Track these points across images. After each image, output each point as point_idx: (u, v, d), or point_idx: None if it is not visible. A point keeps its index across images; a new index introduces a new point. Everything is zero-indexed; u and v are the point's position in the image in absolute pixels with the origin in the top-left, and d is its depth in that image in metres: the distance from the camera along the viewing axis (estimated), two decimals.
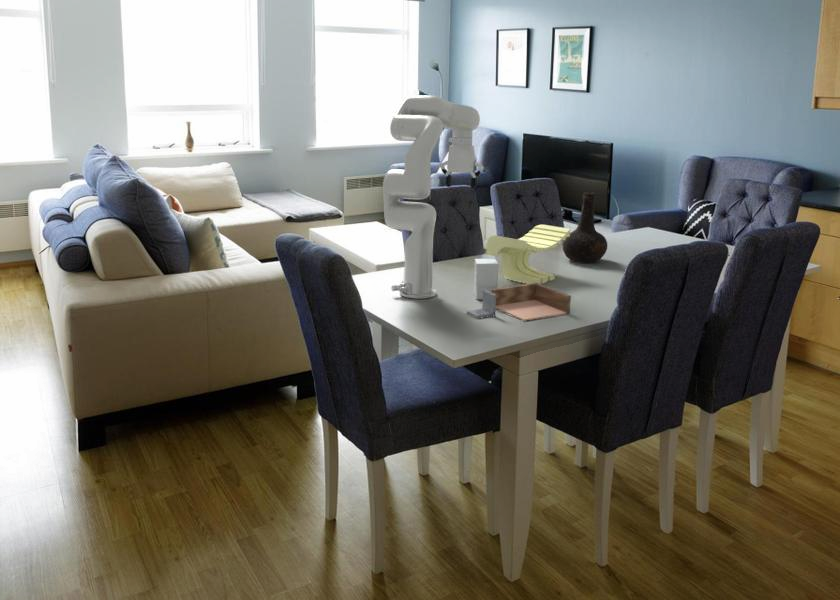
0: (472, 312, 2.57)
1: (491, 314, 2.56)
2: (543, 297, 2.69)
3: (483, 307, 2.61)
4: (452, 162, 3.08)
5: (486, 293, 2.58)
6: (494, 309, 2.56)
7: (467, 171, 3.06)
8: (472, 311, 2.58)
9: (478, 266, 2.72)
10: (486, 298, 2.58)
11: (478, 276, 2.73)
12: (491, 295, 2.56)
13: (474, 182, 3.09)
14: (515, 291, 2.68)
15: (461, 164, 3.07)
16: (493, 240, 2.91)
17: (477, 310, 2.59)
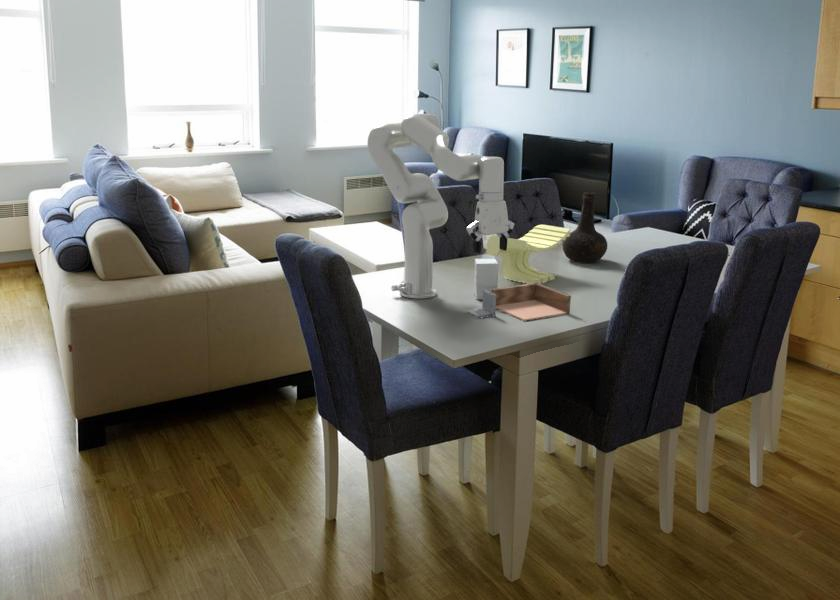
0: (472, 312, 2.57)
1: (491, 314, 2.56)
2: (543, 297, 2.69)
3: (483, 307, 2.61)
4: (488, 223, 2.51)
5: (486, 293, 2.58)
6: (494, 309, 2.56)
7: (504, 230, 2.55)
8: (472, 311, 2.58)
9: (478, 266, 2.72)
10: (486, 298, 2.58)
11: (478, 276, 2.73)
12: (491, 295, 2.56)
13: None
14: (515, 291, 2.68)
15: (497, 224, 2.53)
16: (493, 240, 2.91)
17: (477, 310, 2.59)
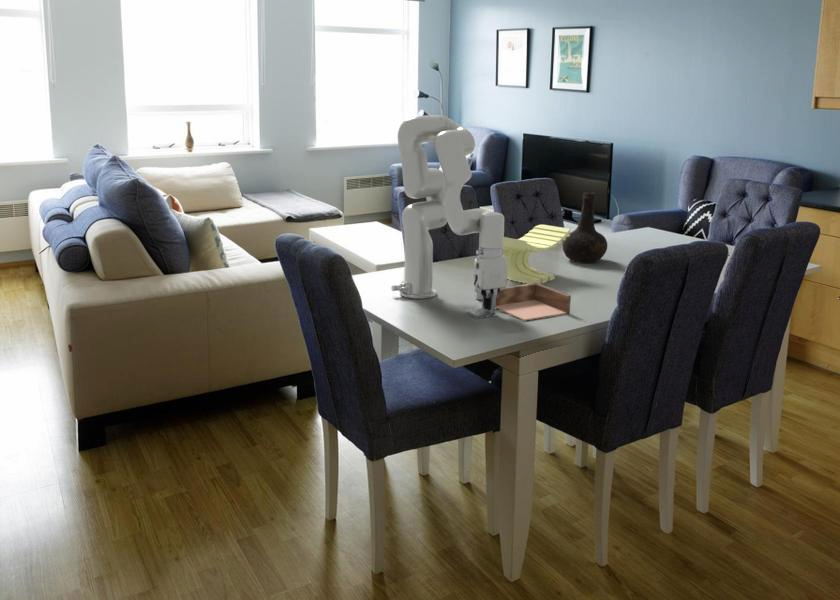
0: (472, 312, 2.57)
1: (491, 314, 2.56)
2: (543, 297, 2.69)
3: (483, 307, 2.61)
4: (487, 278, 2.52)
5: None
6: (494, 309, 2.56)
7: (503, 285, 2.56)
8: (472, 311, 2.58)
9: None
10: None
11: None
12: (491, 295, 2.56)
13: None
14: (515, 291, 2.68)
15: (497, 279, 2.54)
16: None
17: (477, 310, 2.59)
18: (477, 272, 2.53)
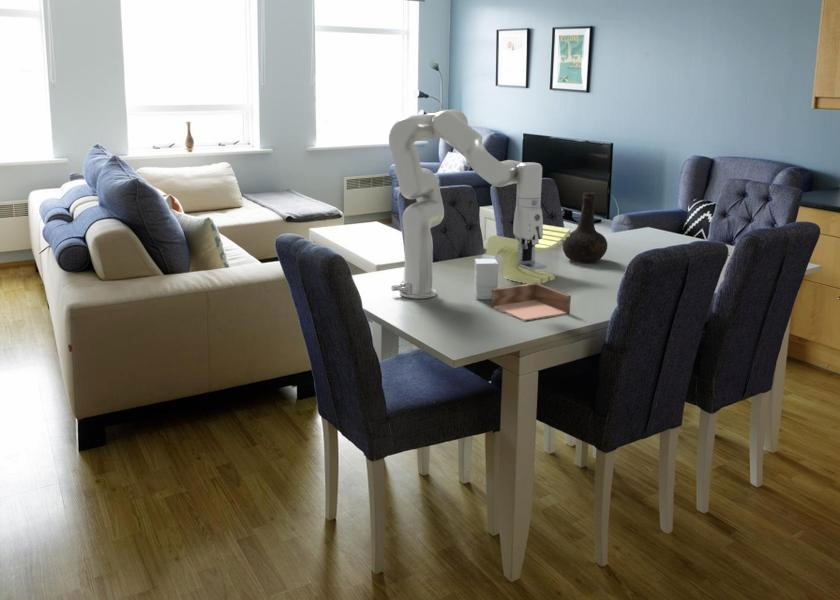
0: (536, 266, 2.54)
1: None
2: (543, 297, 2.69)
3: (521, 261, 2.57)
4: None
5: None
6: None
7: None
8: (530, 266, 2.54)
9: (478, 266, 2.72)
10: None
11: (478, 276, 2.73)
12: None
13: None
14: (515, 291, 2.68)
15: None
16: (493, 240, 2.91)
17: (527, 264, 2.56)
18: (537, 223, 2.51)
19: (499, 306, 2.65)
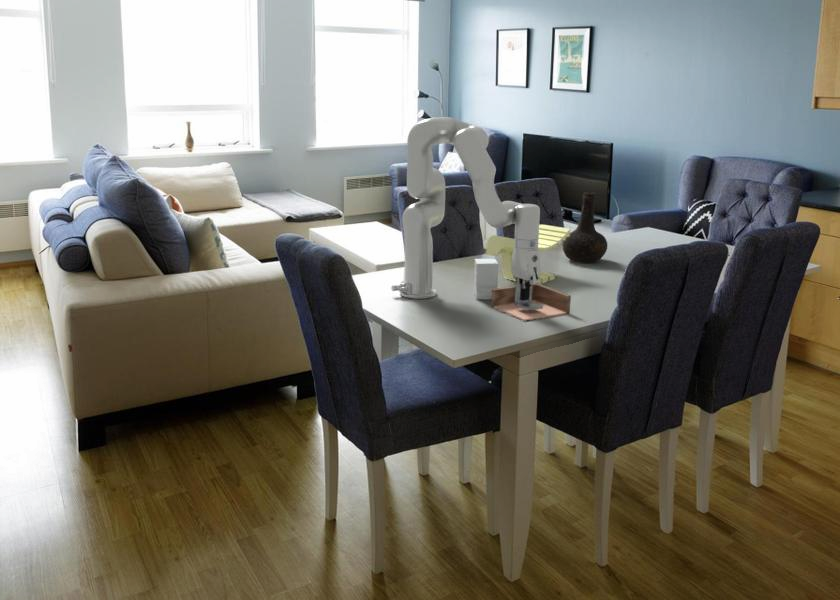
0: (533, 306, 2.57)
1: None
2: (543, 297, 2.69)
3: (518, 301, 2.61)
4: None
5: None
6: None
7: None
8: (527, 306, 2.58)
9: (478, 266, 2.72)
10: None
11: (478, 276, 2.73)
12: None
13: None
14: None
15: None
16: (493, 240, 2.91)
17: (524, 304, 2.59)
18: (535, 264, 2.55)
19: (499, 306, 2.65)
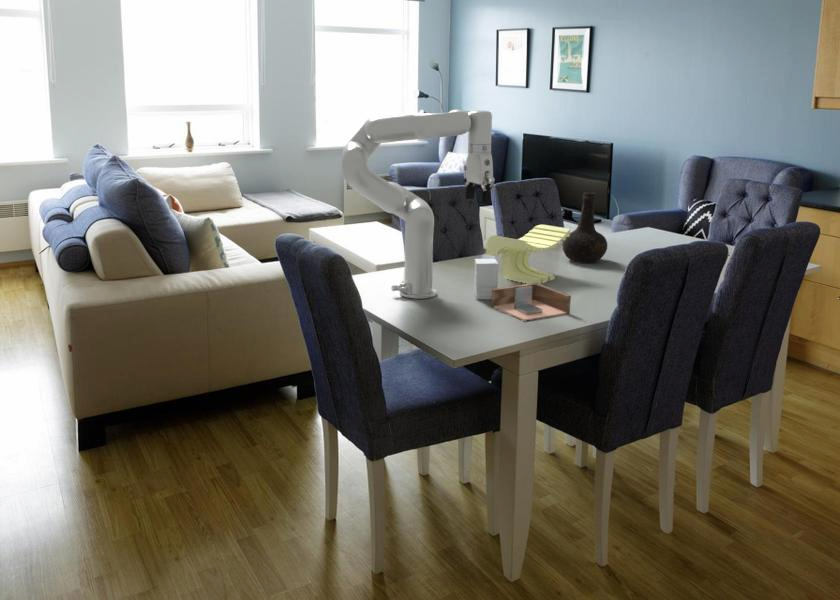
0: (532, 310, 2.58)
1: None
2: (543, 297, 2.69)
3: (517, 305, 2.61)
4: None
5: (522, 289, 2.61)
6: None
7: None
8: (527, 310, 2.58)
9: (478, 266, 2.72)
10: (522, 294, 2.61)
11: (478, 276, 2.73)
12: (529, 288, 2.62)
13: None
14: None
15: None
16: (493, 240, 2.91)
17: (523, 308, 2.59)
18: (488, 168, 2.66)
19: (499, 306, 2.65)
